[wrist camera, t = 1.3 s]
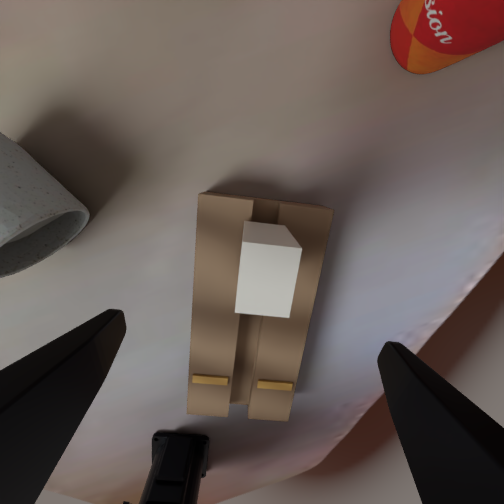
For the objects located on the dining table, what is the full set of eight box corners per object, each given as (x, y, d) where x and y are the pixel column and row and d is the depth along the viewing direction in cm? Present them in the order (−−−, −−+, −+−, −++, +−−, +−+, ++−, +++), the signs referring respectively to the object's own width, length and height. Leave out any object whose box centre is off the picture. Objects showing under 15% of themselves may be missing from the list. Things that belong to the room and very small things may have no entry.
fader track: (283, 395, 27) (288, 423, 24) (193, 388, 26) (186, 415, 23) (322, 205, 21) (335, 210, 18) (205, 191, 20) (197, 194, 17)
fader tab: (274, 268, 20) (289, 318, 13) (239, 264, 20) (234, 312, 13) (282, 222, 19) (302, 248, 12) (244, 217, 19) (242, 241, 12)
